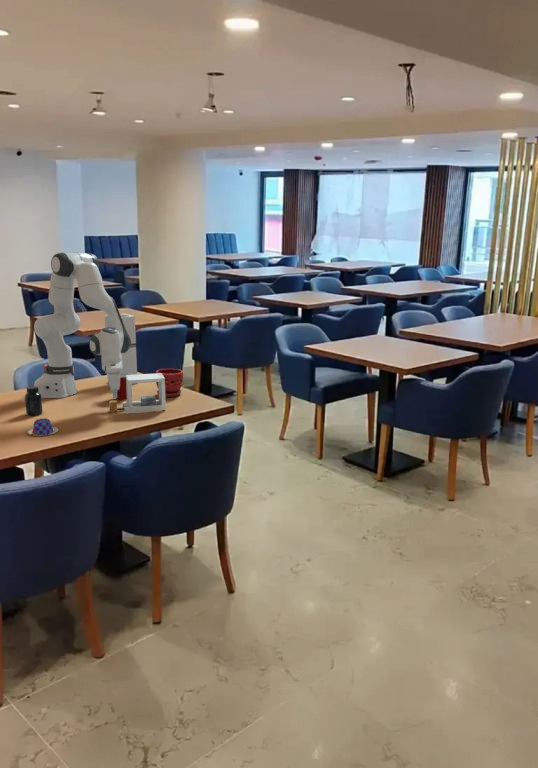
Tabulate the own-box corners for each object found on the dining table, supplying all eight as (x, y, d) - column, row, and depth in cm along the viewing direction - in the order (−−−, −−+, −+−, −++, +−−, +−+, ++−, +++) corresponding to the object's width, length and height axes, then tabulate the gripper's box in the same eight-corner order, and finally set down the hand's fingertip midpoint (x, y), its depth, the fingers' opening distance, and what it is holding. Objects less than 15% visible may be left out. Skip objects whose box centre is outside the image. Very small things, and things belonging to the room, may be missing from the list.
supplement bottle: (46, 412, 304) (44, 386, 301) (36, 416, 298) (34, 390, 295) (33, 411, 307) (30, 384, 304) (22, 415, 300) (20, 388, 297)
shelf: (124, 413, 304) (123, 380, 300) (122, 407, 313) (121, 375, 309) (165, 410, 309) (164, 378, 305) (162, 404, 318) (161, 373, 314)
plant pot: (181, 398, 329) (181, 373, 326) (154, 398, 329) (153, 373, 326) (184, 391, 342) (184, 367, 339) (158, 391, 342) (157, 367, 339)
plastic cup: (136, 395, 333) (135, 371, 330) (129, 401, 322) (128, 376, 319) (114, 395, 334) (113, 370, 331) (107, 401, 323) (105, 376, 320)
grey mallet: (110, 413, 304) (110, 402, 303) (109, 409, 309) (109, 398, 308) (156, 409, 309) (155, 399, 308) (154, 406, 315) (154, 395, 314)
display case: (127, 379, 364) (125, 313, 356) (137, 383, 356) (134, 316, 348) (107, 382, 357) (104, 315, 349) (117, 386, 349) (114, 318, 341)
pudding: (20, 434, 277) (19, 421, 275) (44, 426, 286) (43, 414, 285) (41, 439, 270) (40, 426, 269) (65, 431, 280) (64, 418, 279)
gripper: (103, 360, 311) (105, 390, 314) (106, 370, 292) (108, 401, 295) (117, 359, 312) (119, 389, 316) (121, 369, 293) (123, 400, 297)
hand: (114, 395), depth 305 cm, fingers open, 8 cm apart
